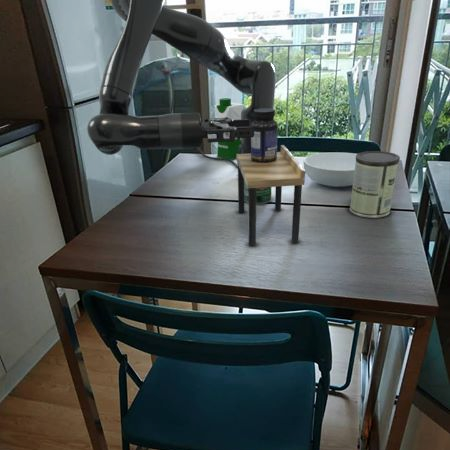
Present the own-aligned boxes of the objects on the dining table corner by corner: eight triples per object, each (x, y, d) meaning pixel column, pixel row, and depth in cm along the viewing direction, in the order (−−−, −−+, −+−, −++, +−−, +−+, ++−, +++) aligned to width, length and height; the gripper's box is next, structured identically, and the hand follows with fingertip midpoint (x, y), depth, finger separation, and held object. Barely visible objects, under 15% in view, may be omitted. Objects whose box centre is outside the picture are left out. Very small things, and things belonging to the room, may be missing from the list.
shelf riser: (237, 211, 118) (236, 147, 109) (281, 208, 118) (283, 145, 109) (247, 246, 99) (247, 173, 90) (300, 243, 100) (305, 170, 91)
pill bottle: (276, 156, 107) (278, 107, 101) (276, 163, 102) (278, 112, 96) (251, 156, 107) (251, 107, 101) (250, 163, 102) (250, 112, 96)
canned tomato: (256, 192, 130) (256, 154, 124) (277, 198, 125) (278, 159, 119) (237, 200, 125) (237, 160, 119) (258, 206, 120) (258, 166, 114)
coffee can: (353, 201, 121) (360, 149, 113) (392, 206, 117) (402, 152, 110) (345, 215, 113) (352, 159, 106) (386, 220, 109) (397, 163, 102)
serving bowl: (376, 176, 139) (379, 154, 136) (365, 197, 124) (368, 173, 120) (311, 170, 147) (313, 149, 143) (293, 189, 131) (295, 166, 127)
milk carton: (213, 157, 165) (211, 99, 154) (229, 152, 170) (228, 95, 160) (231, 160, 160) (230, 101, 149) (247, 155, 165) (247, 97, 155)
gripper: (178, 119, 91) (256, 116, 92) (178, 108, 103) (247, 105, 104) (181, 156, 95) (255, 152, 96) (181, 141, 107) (247, 138, 108)
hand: (251, 127), depth 100 cm, fingers open, 8 cm apart
